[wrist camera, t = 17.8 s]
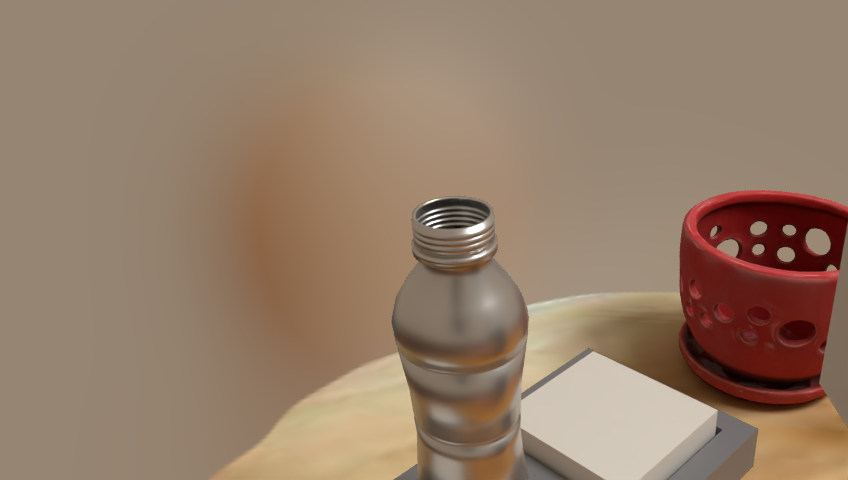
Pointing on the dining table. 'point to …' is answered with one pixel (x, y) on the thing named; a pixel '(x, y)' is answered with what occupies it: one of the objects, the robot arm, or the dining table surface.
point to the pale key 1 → (612, 424)
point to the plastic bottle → (462, 345)
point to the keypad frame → (701, 476)
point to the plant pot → (759, 294)
